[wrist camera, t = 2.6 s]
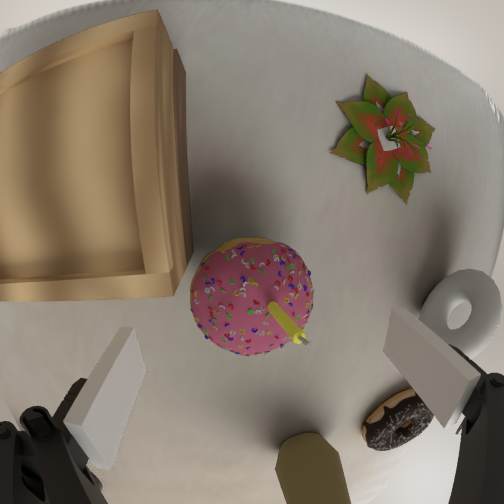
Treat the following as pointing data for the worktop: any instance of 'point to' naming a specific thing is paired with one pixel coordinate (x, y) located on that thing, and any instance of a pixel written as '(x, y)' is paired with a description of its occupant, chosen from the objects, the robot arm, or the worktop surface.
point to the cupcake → (252, 296)
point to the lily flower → (386, 162)
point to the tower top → (91, 168)
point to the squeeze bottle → (311, 471)
